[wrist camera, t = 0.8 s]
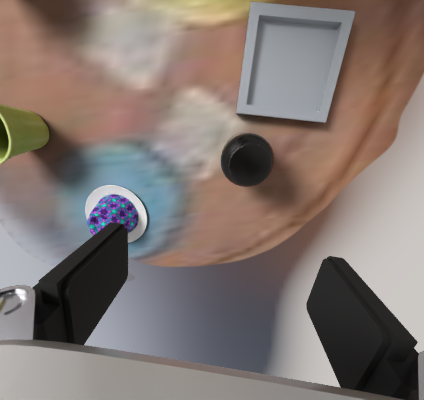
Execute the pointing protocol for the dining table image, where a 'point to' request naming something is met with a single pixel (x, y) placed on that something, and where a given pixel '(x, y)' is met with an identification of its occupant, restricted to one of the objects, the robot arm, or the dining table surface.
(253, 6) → the tray
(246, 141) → the supplement bottle
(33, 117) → the plant pot
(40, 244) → the dining table surface
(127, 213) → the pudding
